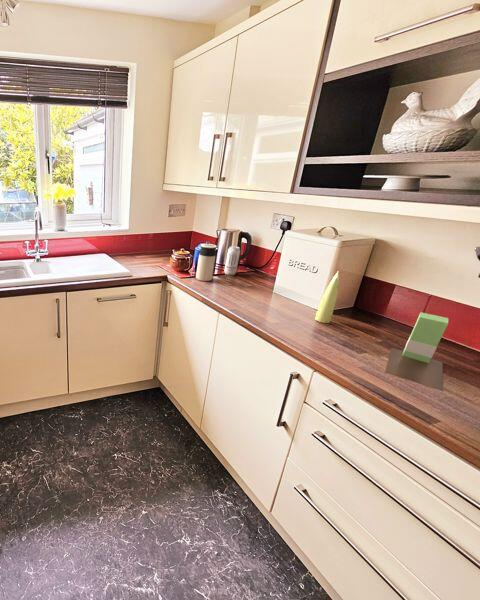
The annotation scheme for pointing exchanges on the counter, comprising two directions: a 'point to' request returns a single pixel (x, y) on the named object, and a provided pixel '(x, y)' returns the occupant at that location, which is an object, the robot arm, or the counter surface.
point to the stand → (415, 369)
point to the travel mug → (206, 262)
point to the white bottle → (232, 260)
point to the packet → (425, 337)
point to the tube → (328, 301)
